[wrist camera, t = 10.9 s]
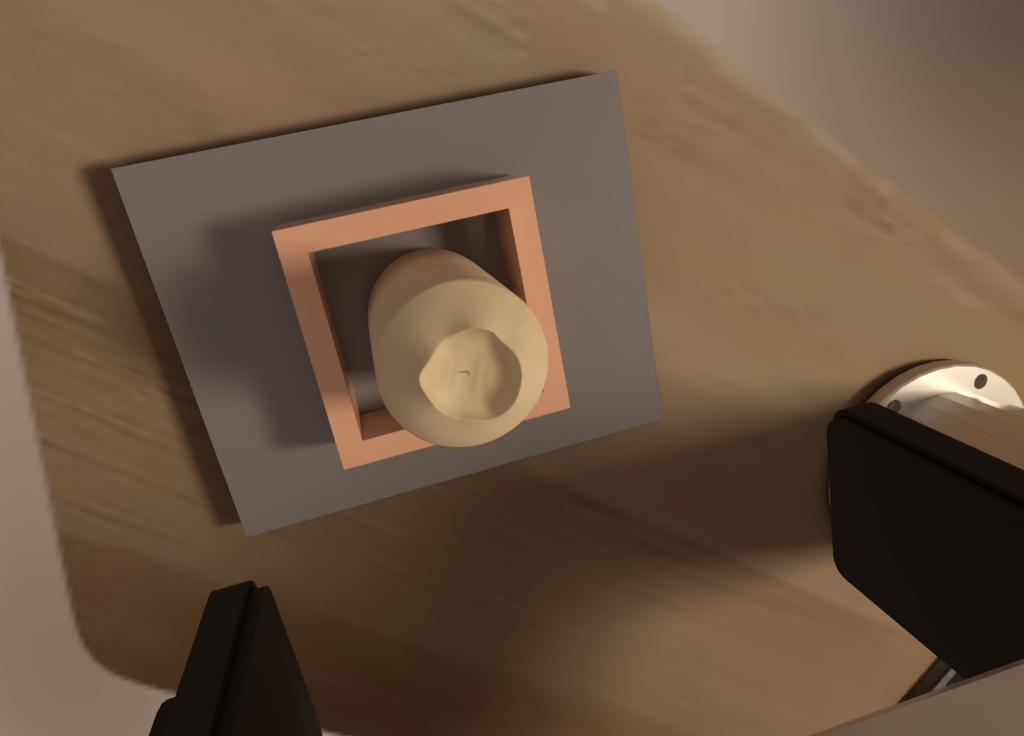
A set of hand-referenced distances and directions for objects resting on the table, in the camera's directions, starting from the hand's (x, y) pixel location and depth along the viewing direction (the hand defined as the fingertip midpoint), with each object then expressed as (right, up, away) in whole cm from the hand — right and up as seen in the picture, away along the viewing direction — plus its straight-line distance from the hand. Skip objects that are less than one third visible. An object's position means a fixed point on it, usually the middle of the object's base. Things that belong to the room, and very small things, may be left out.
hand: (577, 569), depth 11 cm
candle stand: (-5, +6, +20) cm, 22 cm away
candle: (-5, +6, +19) cm, 20 cm away
